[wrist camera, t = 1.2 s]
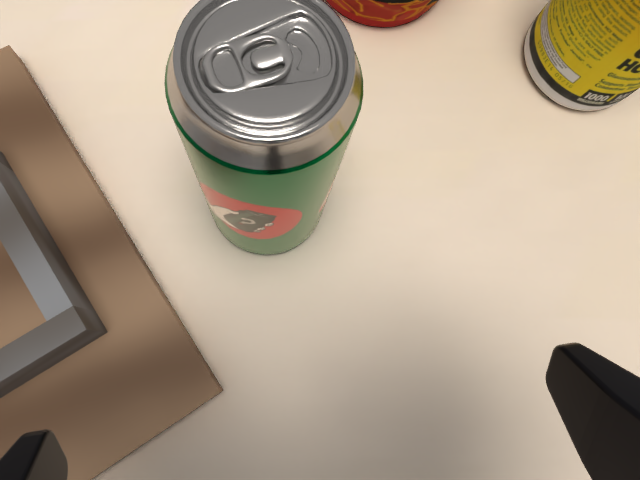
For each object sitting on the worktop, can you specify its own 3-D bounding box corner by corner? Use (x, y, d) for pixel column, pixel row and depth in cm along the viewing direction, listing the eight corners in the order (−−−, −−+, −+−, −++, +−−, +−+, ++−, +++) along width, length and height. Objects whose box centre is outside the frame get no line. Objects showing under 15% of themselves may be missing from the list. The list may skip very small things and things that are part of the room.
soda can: (337, 234, 24) (404, 119, 12) (233, 273, 23) (196, 188, 11) (298, 138, 24) (325, -57, 13) (196, 172, 24) (126, -6, 12)
